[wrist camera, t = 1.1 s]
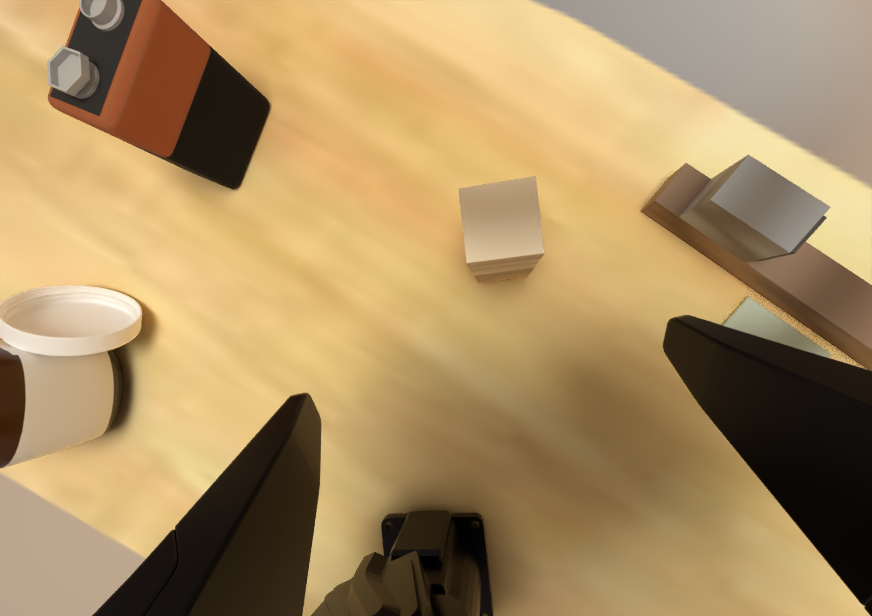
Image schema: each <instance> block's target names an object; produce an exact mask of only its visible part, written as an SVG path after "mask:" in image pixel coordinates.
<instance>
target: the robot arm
mask: <svg viewBox="0 0 872 616" xmlns="http://www.w3.org/2000/svg"><path fill="white" fill-rule="evenodd" d="M663 349H664V352H665V354H666V356H667V357H668V359H669V360H670V362H671V363H672V365H673V366H674V368H675V369H676V371H677V372H678V374H679V375H680V377H681V379H682V380H683V382H684V383H685V385H686V386H687V388H688V389H689V391H690V392H691V394H692V395H693V397H694V398H695V399H696V401H697V402H698V404H699V405H700V406H701V408H702V409H703V410H704V412H705V413H706V414H707V415H708V417H709V418H710V419H711V420H712V421H713V423H714V424H715V425H716V426H717V428H718V429H719V430H720V431H721V432H722V434H723V435H724V436H725V437H726V439H727V440H728V441H729V442H730V444H731V445H732V446H733V447H734V448H735V450H736V451H737V452H738V453H739V455H740V456H741V457H742V458H743V459H744V461H745V462H746V463H747V464H748V466H749V467H750V468H751V469H752V470H753V472H754V473H755V474H756V475H757V477H758V478H759V479H760V480H761V482H762V483H763V484H764V485H765V486H766V488H767V489H768V490H769V491H770V493H771V494H772V495H773V496H774V497H775V499H776V500H777V501H778V502H779V504H780V505H781V506H782V507H783V509H784V510H785V511H786V512H787V513H788V515H789V516H790V517H791V518H792V520H793V521H794V522H795V523H796V524H797V526H798V527H799V528H800V529H801V531H802V532H803V533H804V534H805V535H806V537H807V538H808V539H809V540H810V542H811V543H812V544H813V545H814V547H815V548H816V549H817V550H818V551H819V553H820V554H821V555H822V556H823V558H824V559H825V560H826V561H827V562H828V564H829V565H830V566H831V567H832V569H833V570H834V571H835V572H836V574H837V575H838V576H839V577H840V578H841V580H842V581H843V582H844V583H845V585H846V586H847V587H848V588H849V589H850V591H851V592H852V593H853V594H854V596H855V597H856V598H857V599H858V600H859V602H860V603H861V604H862V605H864V606H865V607H864V608H865V610H866V611H867V612H868V613H869V614H870V616H872V371H870V370H866V369H863V368H860V367H857V366H853V365H850V364H847V363H844V362H840V361H837V360H834V359H830V358H827V357H824V356H821V355H817V354H814V353H811V352H808V351H804V350H801V349H798V348H794V347H791V346H788V345H785V344H781V343H778V342H775V341H772V340H768V339H765V338H762V337H759V336H755V335H752V334H749V333H746V332H742V331H739V330H736V329H732V328H729V327H726V326H723V325H719V324H716V323H713V322H710V321H706V320H703V319H700V318H697V317H693V316H690V315H683V316H678V317H674V318H671V319H670V320H669V321H668V323H667V328H666V332H665V337H664V341H663ZM320 462H321V418H320V415H319V413H318V411H317V409H316V406H315V404H314V402H313V400H312V398H311V396H310V395H309V394H308V393H301V394H296V395H292V396H290V397H289V398H288V399H287V400H286V401H285V403H284V404H283V405H282V406H281V407H280V408H279V409H278V410H277V412H276V413H275V414H274V415H273V416H272V417H271V418H270V420H269V421H268V422H267V423H266V424H265V425H264V426H263V427H262V429H261V430H260V431H259V432H258V433H257V434H256V435H255V437H254V438H253V439H252V440H251V441H250V442H249V443H248V444H247V446H246V447H245V448H244V449H243V450H242V451H241V452H240V454H239V455H238V456H237V457H236V458H235V459H234V460H233V461H232V463H231V464H230V465H229V466H228V467H227V468H226V469H225V471H224V472H223V473H222V474H221V475H220V476H219V477H218V478H217V480H216V481H215V482H214V483H213V484H212V485H211V486H210V488H209V489H208V490H207V491H206V492H205V493H204V494H203V495H202V497H201V498H200V499H199V500H198V501H197V502H196V503H195V505H194V506H193V507H192V508H191V509H190V510H189V511H188V512H187V514H186V515H185V516H184V517H183V518H182V519H181V520H180V522H179V523H178V524H177V525H176V526H175V530H172V531H171V532H170V533H169V534H168V535H167V536H166V537H165V538H164V539H163V541H162V542H161V543H160V544H159V545H158V546H157V547H156V549H155V550H154V551H153V552H152V553H151V554H150V555H149V556H148V557H147V558H146V559H145V561H144V562H143V563H142V564H141V565H140V566H139V567H138V568H137V570H135V572H134V573H133V574H132V575H131V576H130V577H129V578H128V579H127V580H126V581H125V582H124V583H123V585H121V586H120V588H118V590H117V591H116V592H115V593H114V594H113V595H112V596H111V597H110V598H109V599H108V600H107V601H106V602H105V603H104V604H103V605H102V606H101V607H100V608H99V609H98V610H97V612H95V613H94V614H93V615H92V616H302V613H303V606H304V598H305V591H306V584H307V576H308V569H309V562H310V555H311V547H312V540H313V533H314V525H315V518H316V511H317V503H318V496H319V487H320ZM473 521H477V522H479V525H477V526H476V525H473V524H472V522H473ZM387 522H391V523H392V525H393V526H389V525H388V524H387ZM381 527H382V538H383V548H384V556H383V555H381V554H378V553H376V552H374V553H371V554H369V555H367V556H365V557H364V558H363V560H362V562H361V563H360V565H359V567H358V569H357V571H356V573H355V575H354V577H353V578H352V579H351V580H348V581H346V582H344V583H342V584H340V585H338V586H337V587H335V588H334V590H333V591H331V592H330V593H328V594H327V595H326V597H325V598H324V601H323V602H322V603H321V605H320V606H319V607H318V608H317V609H316V610H315V612H314V613H313V614H312V615H311V616H483V615H482V614H483V613H486V614H488V616H493V603H492V594H491V584H490V575H489V566H488V556H487V547H486V537H485V528H484V520H483V518H482V516H481V515H479V514H477V513H456V514H451V513H449V512H448V511H415V512H410V513H409V514H395V515H387V516H386V517H385V518H384V519H383V521H382V525H381Z"/></svg>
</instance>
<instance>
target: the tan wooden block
mask: <svg viewBox="0 0 872 616" xmlns="http://www.w3.org/2000/svg"><path fill="white" fill-rule="evenodd" d="M459 197H460V207H461V216H462V225H463V235H464V244H465V253H466V263H467V265H468V266H469V268H470V270H471V271H472V273H473V274H474V276H475V278H476V279H477V281H478V283H482V282H491V281H499V280H507V279H516V278H524V277H527V276H528V275H529V274H530V272H531V271H532V270H533V268H534V267H535V265H536V264H537V263H538V261H539V260H540V259H541V257H542V256H543V255H544V244H543V235H542V227H541V218H540V209H539V201H538V192H537V183H536V176H534V177H527V178H521V179H515V180H509V181H503V182H497V183H490V184H484V185H478V186H472V187H466V188H460V189H459Z"/></svg>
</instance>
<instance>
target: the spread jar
mask: <svg viewBox="0 0 872 616" xmlns="http://www.w3.org/2000/svg"><path fill="white" fill-rule="evenodd" d="M141 322H142V308H141V306H140V305H139V303H138V302H137V301H135V300H134V299H133V298H131V297H129V296H128V295H125V294H123V293H120V292H117V291H114V290H110V289H105V288H100V287H93V286H82V285H58V286H47V287H41V288H35V289H31V290H27V291H23V292H20V293H18V294H15V295H13V296H11V297H9V298H7V299H6V300H4V301H3V302H2V303H1V304H0V337H1V338H0V468H4V467H8V466H11V465H14V464H18V463H21V462H25V461H28V460H31V459H35V458H38V457H41V456H44V455H47V454H51V453H54V452H57V451H61V450H64V449H67V448H70V447H73V446H77V445H80V444H82V443H85V442H88V441H91V440H93V439H95V438H97V437H99V436H101V435H102V434H103V433H105V432H106V431H107V430H108V429H109V427H110V426H111V424H112V423H113V421H114V419H115V417H116V414H117V411H118V408H119V405H120V400H121V396H122V387H123V386H122V375H121V370H120V367H119V364H118V361H117V358H116V356H115V354H114V353H113V351H112V349H115V348H118V347H120V346H122V345H124V344H126V343H128V342H130V341H131V340H133V339H134V338H135V337H136V336H137V335H138V334H139V332H140V329H141Z"/></svg>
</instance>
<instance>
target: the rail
mask: <svg viewBox="0 0 872 616" xmlns="http://www.w3.org/2000/svg"><path fill="white" fill-rule="evenodd" d="M829 208H830V206H828V205H826V204H825V203H823V202H822V201H820V200H819V199H817V198H815V197H814V196H812V195H811V194H809V193H808V192H806V191H805V190H803V189H801V188H800V187H798V186H797V185H795V184H794V183H792V182H790V181H789V180H787V179H786V178H784V177H783V176H781V175H779V174H778V173H776V172H775V171H773V170H772V169H770V168H769V167H767V166H765V165H764V164H762V163H761V162H759V161H758V160H756V159H754V158H753V157H751V156H750V155H747V156H746V157H744V158H743V159H741V160H740V161H738V162H737V163H735V164H734V165H732V166H730V167H729V168H727V169H726V170H724V171H723V172H721V173H720V174H718V175H717V176H715V177H713V178H712V179H710V178H708V177H707V176H705V175H704V174H702V173H701V172H699V171H698V170H696V169H695V168H693V167H692V166H690V165H689V164H687V163H686V164H685V165H683V166H682V167H681V168H680V169H678V170H677V171H676V172H675V173H674V174H672V175H671V176H670V177H669V178H668V179H667V180H666V182H665V183H664V184H663V185H662V186H661V188H660V189H659V190H658V191H657V192H656V194H655V195H654V196H653V197H652V198H651V200H650V201H649V202H648V203H647V204H646V206H645V207H644V208H643V209H642V210H641V211H642V212H643V213H645V214H646V215H647V216H649V217H650V218H652V219H653V220H655V221H656V222H657V223H659V224H660V225H662V226H663V227H665V228H666V229H668V230H669V231H670V232H672V233H673V234H675V235H676V236H678V237H679V238H680V239H682V240H683V241H685V242H686V243H688V244H689V245H690V246H692V247H693V248H695V249H696V250H698V251H699V252H701V253H702V254H703V255H705V256H706V257H708V258H709V259H711V260H712V261H713V262H715V263H716V264H718V265H719V266H721V267H722V268H724V269H725V270H726V271H728V272H729V273H731V274H732V275H734V276H735V277H736V278H738V279H739V280H741V281H742V282H744V283H745V284H746V285H748V286H749V287H751V288H752V289H754V290H755V291H757V292H758V293H759V294H761V295H762V296H764V297H765V298H767V299H768V300H769V301H771V302H772V303H774V304H775V305H777V306H778V307H780V308H781V309H782V310H784V311H785V312H787V313H788V314H790V315H791V316H792V317H794V318H795V319H797V320H798V321H800V322H801V323H803V324H804V325H805V326H807V327H808V328H810V329H811V330H813V331H814V332H815V333H817V334H818V335H820V336H821V337H823V338H824V339H825V340H827V341H828V342H830V343H831V344H833V345H834V346H836V347H837V348H838V349H840V350H841V351H843V352H844V353H846V354H847V355H848V356H850V357H851V358H853V359H854V360H856V361H857V362H859V363H860V364H861V365H863V366H864V367H866V368H867V369H869V370H870V371H872V285H870V284H869V283H867V282H866V281H864V280H863V279H861V278H860V277H858V276H857V275H855V274H854V273H852V272H851V271H849V270H848V269H846V268H845V267H843V266H842V265H840V264H839V263H837V262H836V261H834V260H833V259H831V258H830V257H828V256H827V255H825V254H824V253H822V252H820V251H819V250H817V249H816V248H814V247H813V246H811V245H810V244H808V243H807V242H806V240H807V239H808V238H809V237H810V236H811V235H812V234H813V233H814V232H815V230H816V229H817V228H818V227H819V226H820V225H821V224H822V223H823V221H824V220H825V219H826V218H827V217H825V216H823V215H824V214H825V213H826V212H827V211H828V210H829ZM722 325H723V326H726V327H729V328H732V329H736V330H739V331H742V332H746V333H749V334H752V335H755V336H759V337H762V338H765V339H768V340H772V341H775V342H778V343H781V344H785V345H788V346H791V347H794V348H798V349H801V350H804V351H808V352H811V353H814V354H817V355H821V356H824V357H827V358H828V357H829V356H830V355H831V354H830V353H829V352H827V351H826V350H824V349H823V348H821V347H820V346H819V345H817V344H816V343H814V342H813V341H811V340H810V339H809V338H807V337H806V336H804V335H803V334H801V333H800V332H799V331H797V330H796V329H794V328H793V327H791V326H790V325H789V324H787V323H786V322H784V321H783V320H781V319H780V318H779V317H777V316H776V315H774V314H773V313H771V312H770V311H769V310H767V309H766V308H764V307H763V306H761V305H760V304H759V303H757V302H756V301H754V300H753V299H751V298H750V297H746V298H745V299H744V300H743V302H742V303H741V304H740V305H739V306H738V307H737V308H736V309H735V311H734V312H733V313H732V314H731V315H730V316H729V317H728V318H727V320H726V321H725V322H724V323H723V324H722Z"/></svg>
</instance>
